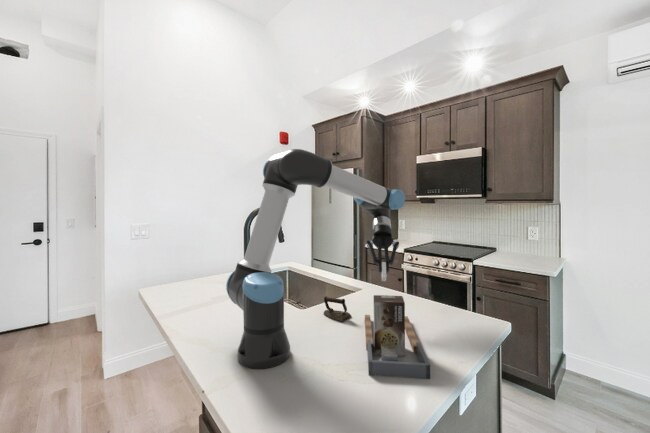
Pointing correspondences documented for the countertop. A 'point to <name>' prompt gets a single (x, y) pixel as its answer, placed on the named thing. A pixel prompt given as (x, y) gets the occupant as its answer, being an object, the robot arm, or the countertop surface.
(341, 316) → the clothes iron
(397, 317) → the cookie box
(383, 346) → the chip
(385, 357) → the chip
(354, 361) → the countertop surface
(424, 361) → the tray
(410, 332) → the slot rails
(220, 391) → the countertop surface
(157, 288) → the countertop surface
